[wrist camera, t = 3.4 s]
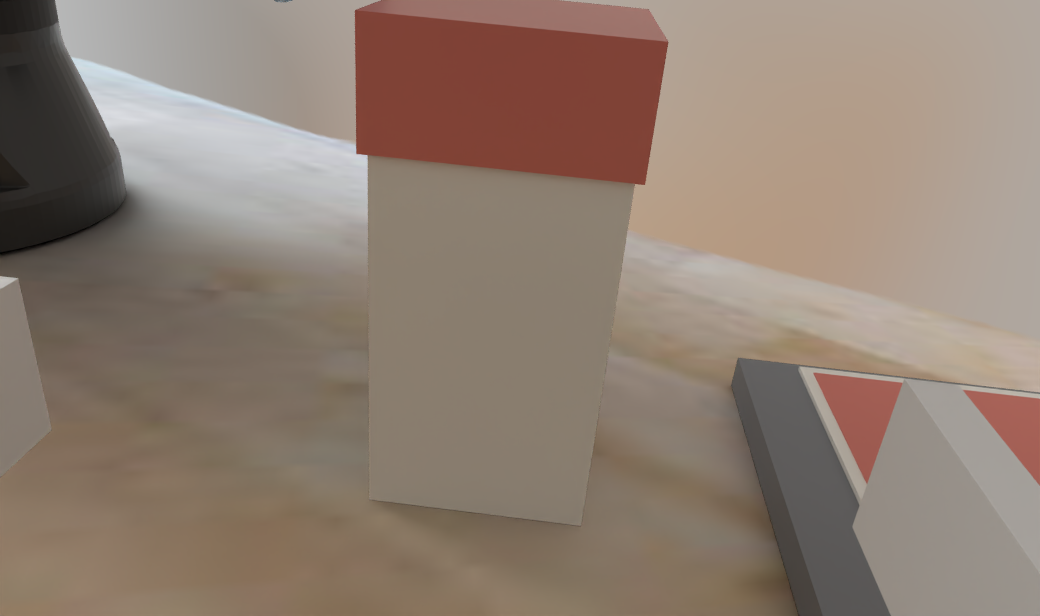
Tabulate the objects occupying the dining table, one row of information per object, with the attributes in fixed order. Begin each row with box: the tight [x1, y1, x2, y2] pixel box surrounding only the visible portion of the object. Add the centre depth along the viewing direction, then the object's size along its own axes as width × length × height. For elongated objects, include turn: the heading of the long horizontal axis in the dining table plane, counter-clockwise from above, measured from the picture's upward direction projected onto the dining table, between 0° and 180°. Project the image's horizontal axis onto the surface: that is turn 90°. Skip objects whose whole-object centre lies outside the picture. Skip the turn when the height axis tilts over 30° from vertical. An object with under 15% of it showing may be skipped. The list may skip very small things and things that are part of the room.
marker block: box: [355, 0, 668, 526], centre depth 22 cm, size 6×6×13 cm
